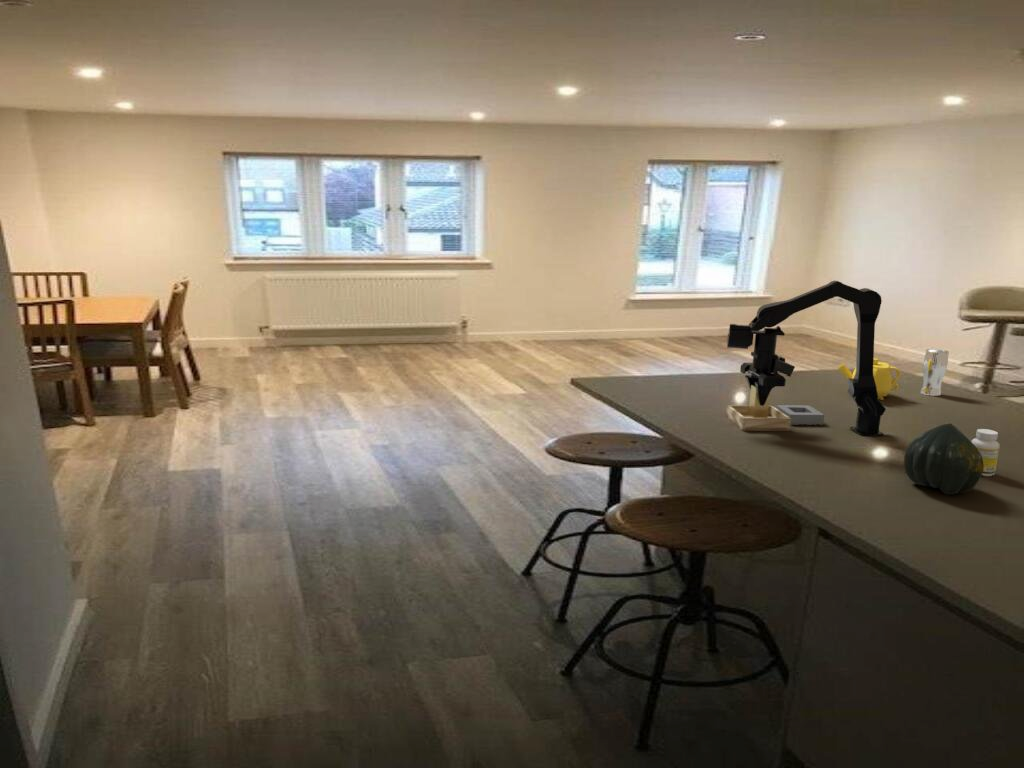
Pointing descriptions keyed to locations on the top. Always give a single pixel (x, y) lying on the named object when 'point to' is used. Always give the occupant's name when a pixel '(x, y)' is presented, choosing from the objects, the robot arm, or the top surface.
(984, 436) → the supplement bottle
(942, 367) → the beer glass
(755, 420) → the tray
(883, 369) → the teapot
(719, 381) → the top surface
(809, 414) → the frame
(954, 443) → the squash
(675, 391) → the top surface
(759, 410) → the pin
